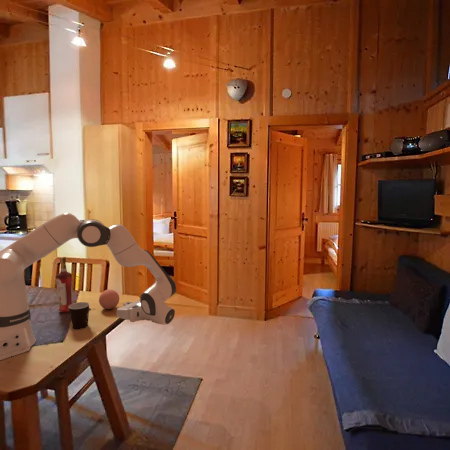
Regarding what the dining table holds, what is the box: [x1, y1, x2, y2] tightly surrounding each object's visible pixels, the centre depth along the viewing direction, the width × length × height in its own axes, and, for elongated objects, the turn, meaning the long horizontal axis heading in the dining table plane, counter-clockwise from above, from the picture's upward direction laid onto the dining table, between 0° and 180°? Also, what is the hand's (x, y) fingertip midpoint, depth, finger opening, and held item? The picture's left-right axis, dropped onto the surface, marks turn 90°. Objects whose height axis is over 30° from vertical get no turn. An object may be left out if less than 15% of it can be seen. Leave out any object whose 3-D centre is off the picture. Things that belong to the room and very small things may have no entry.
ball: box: [98, 288, 120, 310], centre depth 171 cm, size 10×10×10 cm
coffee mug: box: [68, 301, 90, 331], centre depth 151 cm, size 12×9×10 cm
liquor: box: [55, 256, 73, 314], centre depth 167 cm, size 7×7×28 cm
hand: (125, 304), depth 164 cm, fingers closed
